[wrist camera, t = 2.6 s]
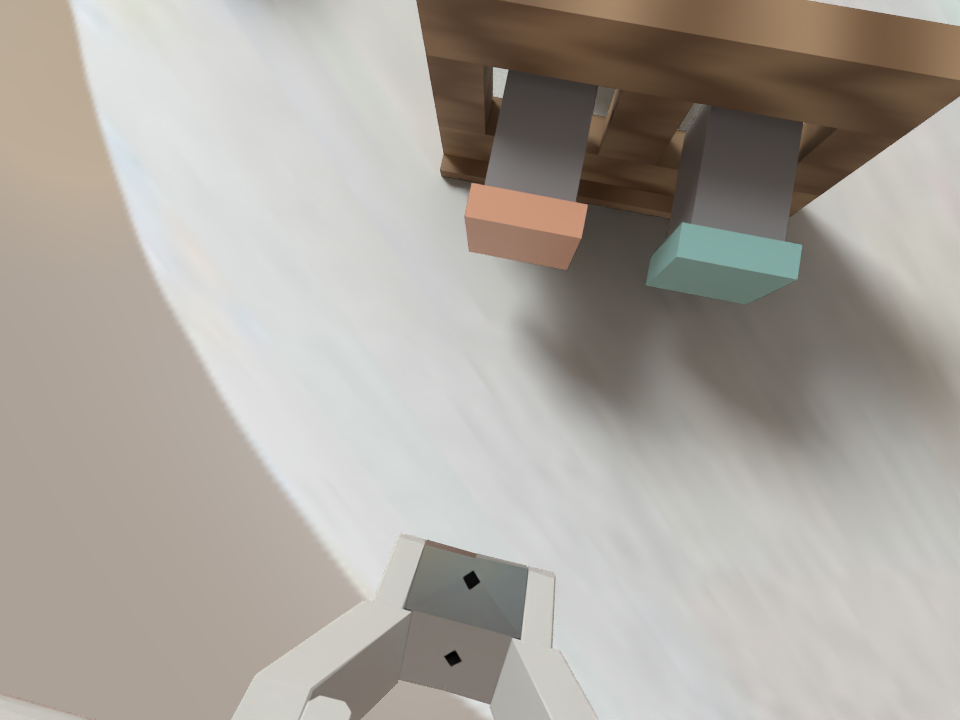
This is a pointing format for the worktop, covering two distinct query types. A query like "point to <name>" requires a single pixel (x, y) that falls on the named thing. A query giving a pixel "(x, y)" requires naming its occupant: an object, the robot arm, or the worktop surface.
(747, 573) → the worktop surface
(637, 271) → the worktop surface
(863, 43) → the walnut panel
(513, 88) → the terracotta button
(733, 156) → the teal button
